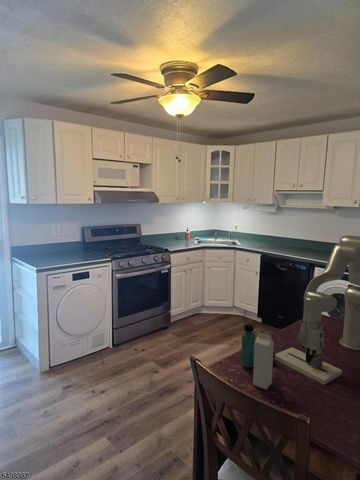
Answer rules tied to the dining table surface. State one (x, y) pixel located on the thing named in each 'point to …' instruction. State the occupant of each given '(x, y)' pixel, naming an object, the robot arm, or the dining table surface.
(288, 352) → the slider board
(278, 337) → the dining table surface
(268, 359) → the milk
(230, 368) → the dining table surface
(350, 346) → the robot arm
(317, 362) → the fader
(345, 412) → the dining table surface
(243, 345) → the beverage bottle
